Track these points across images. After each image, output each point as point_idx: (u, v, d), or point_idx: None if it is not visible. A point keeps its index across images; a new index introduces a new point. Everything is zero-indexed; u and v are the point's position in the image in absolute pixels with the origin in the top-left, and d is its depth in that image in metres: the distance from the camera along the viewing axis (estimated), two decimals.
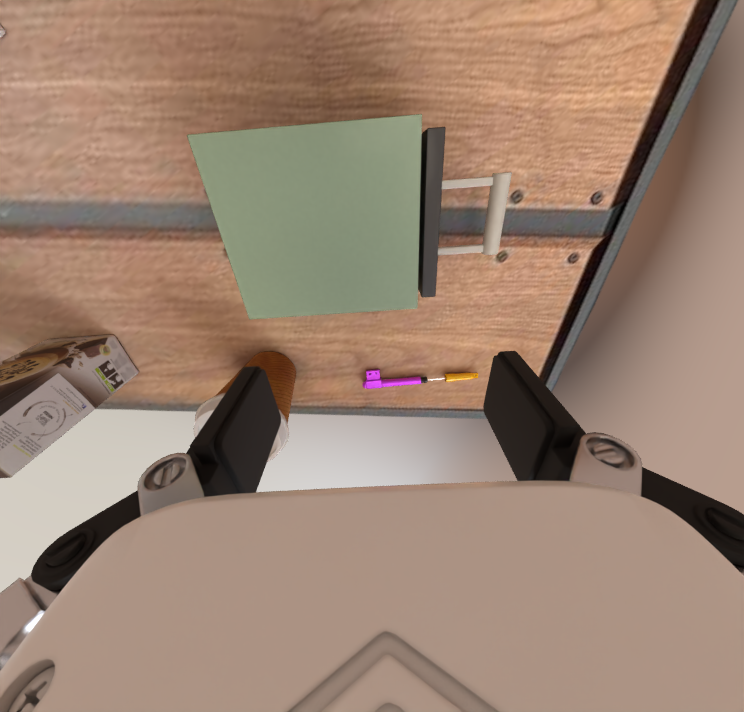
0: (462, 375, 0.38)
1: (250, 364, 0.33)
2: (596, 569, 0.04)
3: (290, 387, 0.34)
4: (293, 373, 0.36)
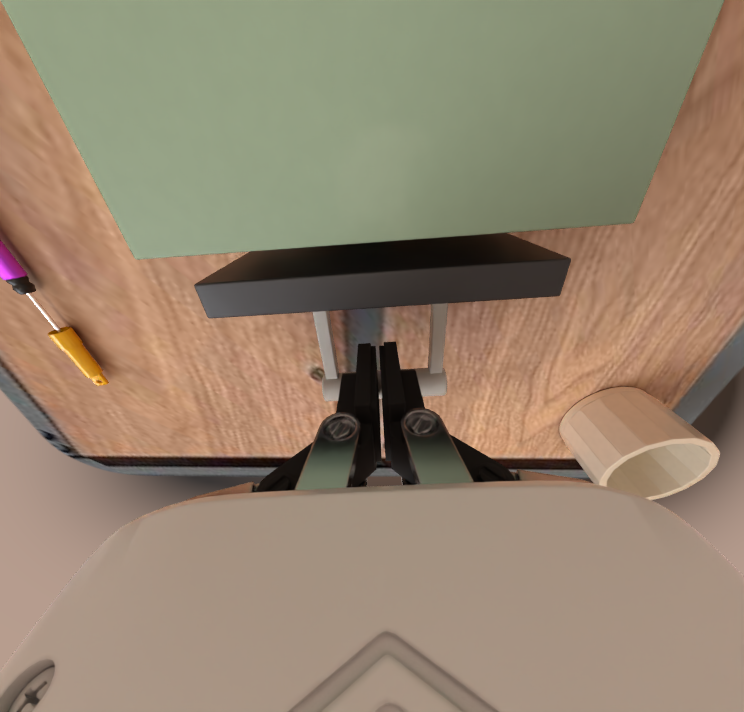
0: (84, 361, 0.19)
1: None
2: (596, 569, 0.04)
3: None
4: None
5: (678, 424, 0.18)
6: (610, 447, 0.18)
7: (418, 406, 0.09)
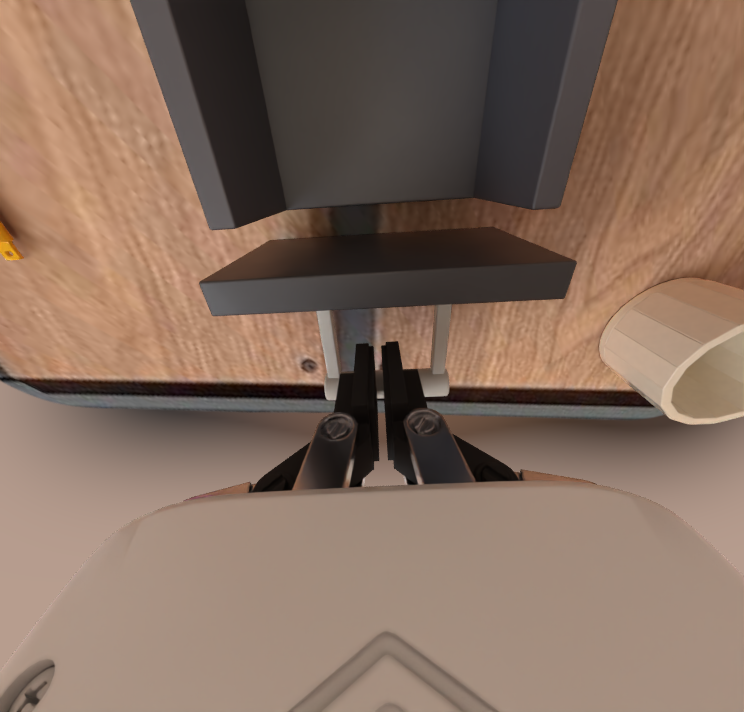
0: None
1: None
2: (596, 569, 0.04)
3: None
4: None
5: None
6: (681, 339, 0.14)
7: (420, 406, 0.09)
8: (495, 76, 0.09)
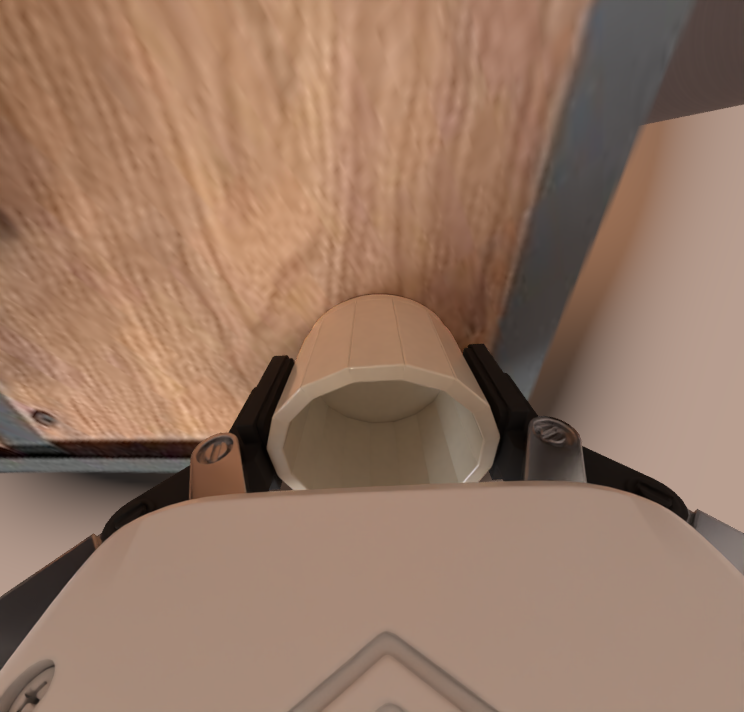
0: None
1: None
2: (596, 569, 0.04)
3: None
4: None
5: (400, 342, 0.08)
6: None
7: (529, 413, 0.09)
8: None
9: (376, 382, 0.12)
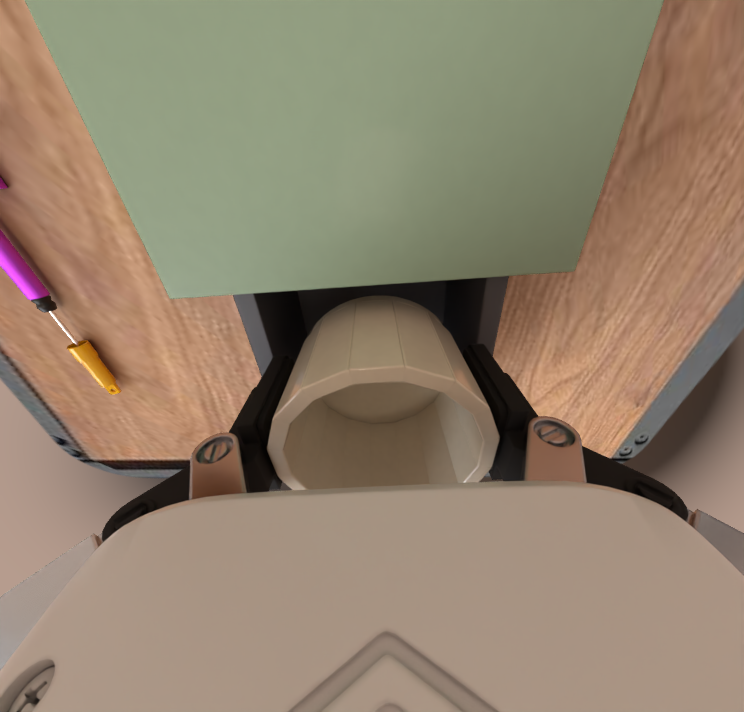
0: (100, 371, 0.20)
1: None
2: (596, 569, 0.04)
3: None
4: None
5: (400, 343, 0.08)
6: None
7: (529, 413, 0.09)
8: (447, 317, 0.16)
9: (376, 383, 0.12)
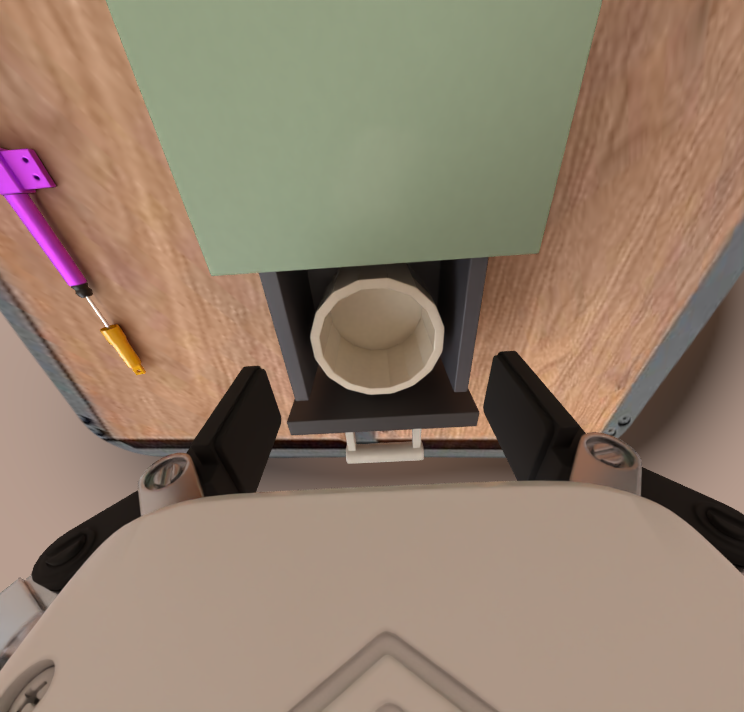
0: (128, 353, 0.22)
1: None
2: (596, 569, 0.04)
3: None
4: None
5: (386, 271, 0.14)
6: None
7: None
8: (440, 301, 0.18)
9: (374, 317, 0.18)
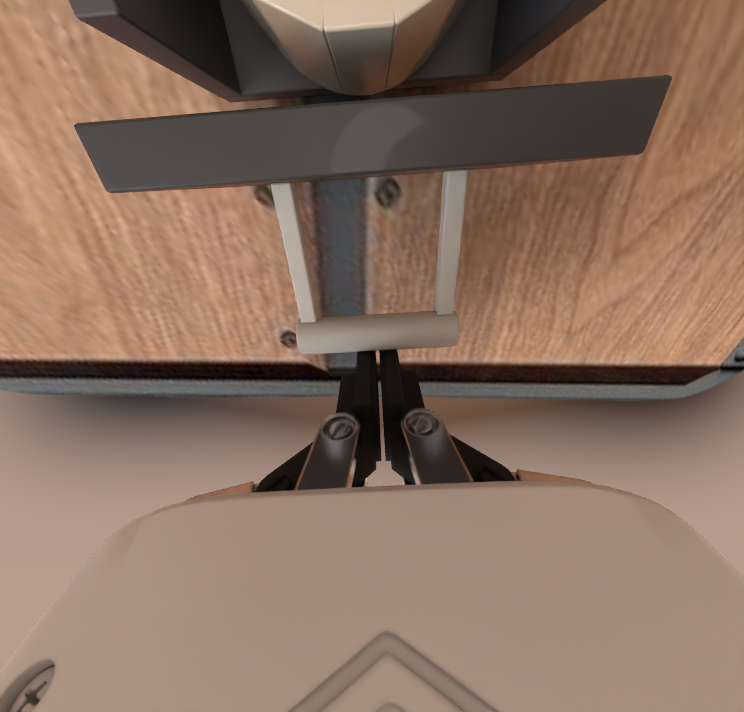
0: None
1: None
2: (596, 569, 0.04)
3: None
4: None
5: None
6: None
7: (418, 406, 0.09)
8: None
9: None
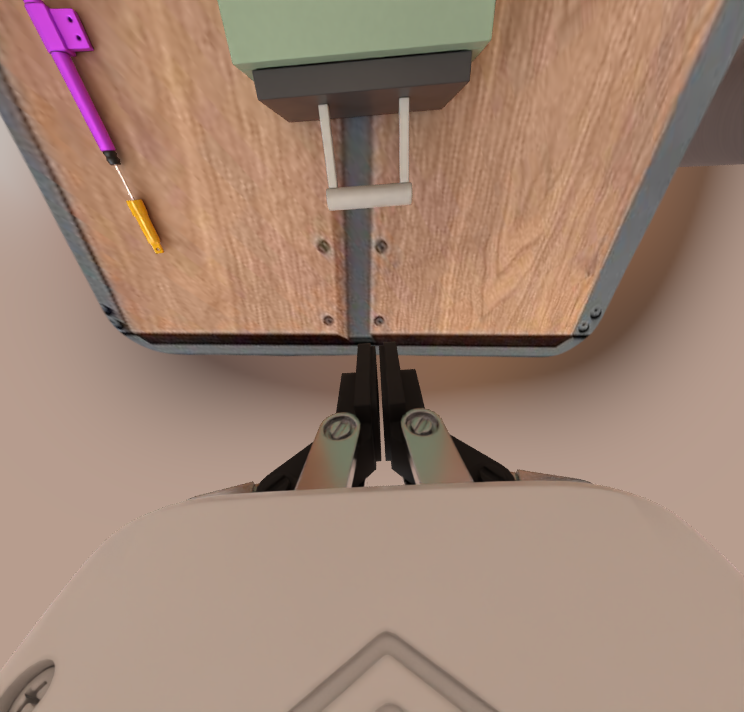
0: (149, 228, 0.25)
1: None
2: (596, 569, 0.04)
3: None
4: None
5: None
6: None
7: (418, 406, 0.09)
8: None
9: None
